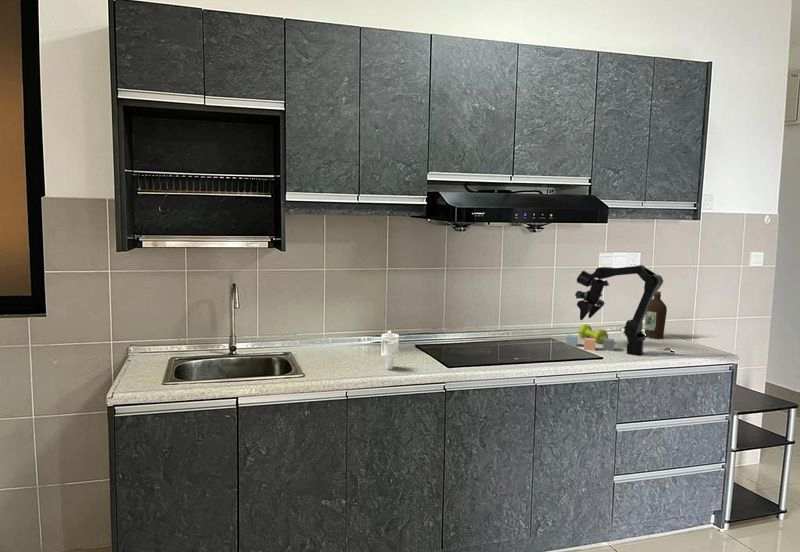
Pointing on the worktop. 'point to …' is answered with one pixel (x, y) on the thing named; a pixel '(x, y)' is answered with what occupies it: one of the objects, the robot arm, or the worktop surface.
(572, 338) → the slate block
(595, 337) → the dumbbell
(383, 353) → the clear stepped cylinder
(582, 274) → the robot arm
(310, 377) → the worktop surface
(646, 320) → the olive oil
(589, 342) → the terracotta block
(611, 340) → the charcoal block
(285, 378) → the worktop surface
